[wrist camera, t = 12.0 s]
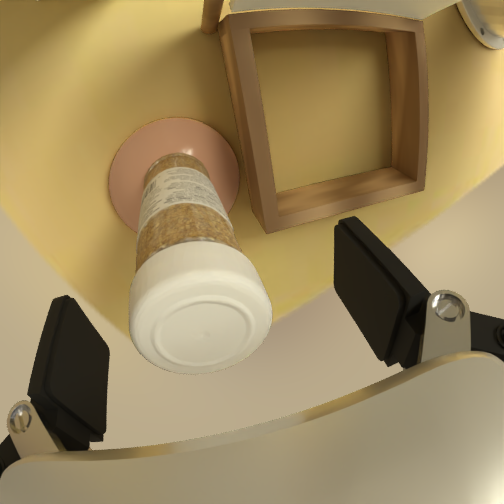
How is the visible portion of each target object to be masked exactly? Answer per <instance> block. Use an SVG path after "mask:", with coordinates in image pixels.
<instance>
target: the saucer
mask: <svg viewBox="0 0 504 504" xmlns="http://www.w3.org/2000/svg"><path fill="white" fill-rule="evenodd" d="M177 152H178V153H186V154H189V155H191V156H194V157H195V158H197V159H198V160H200V161H201V162H202V163H203V165H204V166H205V168H206V169H207V171H208V173H209V177H210V181H211V183H212V184H213V186H214V188H215V190H216V192H217V194H218V196H219V199H220V201H221V203H222V205H223V207H224V209H225V212H226V214H228V213H229V211H230V210H231V208H232V206H233V204H234V202H235V200H236V197H237V193H238V189H239V183H240V174H239V166H238V162H237V159H236V156H235V154H234V152H233V150H232V148H231V147H230V145H229V144H228V143H227V141H226V140H225V139H224V138H223V137H222V136H221V135H220V134H219V133H218V132H217V131H216V130H214V129H213V128H211V127H210V126H208V125H206V124H204V123H202V122H200V121H197V120H194V119H189V118H181V117H172V118H164V119H160V120H156V121H153V122H151V123H148V124H146V125H145V126H143V127H141V128H139V129H138V130H137V131H135V132H134V133H133V134H132V135H131V136H129V137H128V138H127V139H126V141H125V142H124V143H123V144H122V146H121V147H120V149H119V151H118V152H117V154H116V156H115V158H114V160H113V163H112V166H111V170H110V176H109V191H110V197H111V200H112V203H113V206H114V208H115V210H116V212H117V213H118V215H119V216H120V218H121V219H122V220H123V221H124V223H125V224H126V225H127V226H129V227H130V228H131V229H132V230H134V231H135V232H136V233H138V224H139V216H140V208H141V202H142V196H143V192H144V189H143V185H144V178H145V175H146V173H147V172H148V169H149V168H150V167H151V165H152V164H153V163H154V162H155V161H156V160H157V159H159V158H161V157H162V156H165V155H167V154H171V153H177Z"/></svg>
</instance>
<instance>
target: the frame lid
mask: <svg viewBox="0 0 504 504" xmlns="http://www.w3.org/2000/svg"><path fill="white" fill-rule="evenodd" d="M460 1H462V0H230V2H229V6H230V9H231V12H237V11H246V10H257V9H271V8H301V7H308V8H339V9H352V10H363V11H372V12H380V13H387V14H393V15H399V16H405V17H410V18H415V19H420V20H422V19H424V18H426V17H428V16H430V15H432V14H434V13H436V12H438V11H440V10H442V9H444V8H447V7H449V6H451V5H453V4H455V3H457V2H460Z"/></svg>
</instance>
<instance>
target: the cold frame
mask: <svg viewBox="0 0 504 504" xmlns="http://www.w3.org/2000/svg"><path fill="white" fill-rule="evenodd" d="M223 1H224V0H204V6H203V14H202V24H201V30H202V32H203V33H205V34H213V33H215V32H216V31H217V28H218V32H219V37H220V42H221V47H222V52H223V57H224V62H225V68H226V73H227V78H228V83H229V88H230V93H231V99H232V104H233V109H234V114H235V120H236V125H237V130H238V135H239V141H240V146H241V151H242V157H243V162H244V167H245V173H246V178H247V184H248V189H249V194H250V200H251V205H252V211H253V213H254V215H255V216H256V218H257V219H258V221H259V223H260V224H261V226H262V227H263V229H264V231H265V232H266V234H269V233H273V232H276V231H280V230H283V229H287V228H290V227H294V226H297V225H301V224H304V223H308V222H311V221H315V220H318V219H322V218H325V217H329V216H332V215H336V214H340V213H343V212H347V211H350V210H354V209H358V208H361V207H365V206H369V205H372V204H376V203H379V202H383V201H387V200H390V199H394V198H398V197H401V196H405V195H409V194H413V193H416V192H420V191H424V187H425V176H426V164H427V148H428V117H429V103H428V72H427V57H426V46H425V36H424V28H423V21H418V20H413V19H408V18H402V17H396V16H390V15H383V14H375V13H367V12H357V11H344V10H323V9H289V10H268V11H255V12H245V13H236V14H228V15H227V16H226V17H225V18H224V19H223V20H222V21H220V22H219V19H220V14H221V10H222V5H223ZM314 29H335V30H361V31H374V32H385V36H386V44H387V54H388V64H389V77H390V93H391V120H392V157H391V167H388V168H383V169H378V170H374V171H369V172H364V173H360V174H355V175H351V176H346V177H342V178H337V179H333V180H329V181H324V182H320V183H316V184H312V185H308V186H303V187H299V188H295V189H291V190H287V191H283V192H279V193H276V190H275V183H274V176H273V169H272V162H271V156H270V149H269V142H268V136H267V129H266V123H265V117H264V110H263V104H262V98H261V92H260V86H259V80H258V74H257V69H256V63H255V57H254V52H253V46H252V41H251V35H250V34H253V33H263V32H274V31H288V30H314Z"/></svg>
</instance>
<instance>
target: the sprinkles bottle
mask: <svg viewBox="0 0 504 504" xmlns="http://www.w3.org/2000/svg"><path fill="white" fill-rule="evenodd" d="M143 189H144V192H143V196H142V202H141V208H140V216H139V224H138V234H137V244H136V252H137V257H136V275H135V277H134V279H133V281H132V284H131V288H130V295H129V331H130V336H131V339H132V342H133V344H134V346H135V347H136V349H137V350H138V352H139V353H140V354H141V355H142V356H143V357H144V358H145V359H146V360H148V361H149V362H150V363H152V364H154V365H155V366H157V367H160V368H162V369H164V370H167V371H170V372H174V373H180V374H205V373H211V372H216V371H220V370H223V369H226V368H229V367H231V366H233V365H235V364H237V363H239V362H241V361H242V360H244V359H246V358H247V357H248V356H250V355H251V354H252V353H254V352H255V351H256V350H257V348H258V347H259V346H260V345H261V344H262V342H263V341H264V340H265V338H266V337H267V335H268V333H269V330H270V327H271V323H272V306H271V302H270V300H269V297H268V295H267V292H266V290H265V288H264V285H263V283H262V281H261V279H260V277H259V275H258V273H257V271H256V269H255V267H254V265H253V264H252V263H251V262H250V260H249V259H248V258H247V257H246V256H245V255H244V254H243V253H242V250H241V249H240V247H239V244H238V242H237V240H236V237H235V234H234V229H233V227H232V224H231V222H230V220H229V218H228V216H227V214H226V212H225V209H224V207H223V205H222V203H221V201H220V199H219V196H218V194H217V192H216V190H215V188H214V186H213V184H212V183H211V181H210V177H209V173H208V171H207V169H206V168H205V166H204V165H203V163H202V162H201V161H200V160H198V159H197V158H195V157H194V156H191V155H189V154H186V153H178V152H177V153H171V154H167V155H165V156H162V157H161V158H159V159H157V160H156V161H155V162H154V163H153V164H152V165H151V167H150V168H149V169H148V172H147V173H146V175H145V178H144V185H143Z"/></svg>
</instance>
